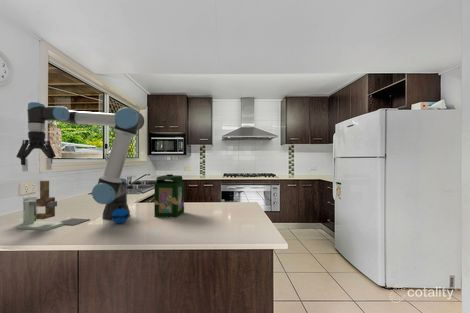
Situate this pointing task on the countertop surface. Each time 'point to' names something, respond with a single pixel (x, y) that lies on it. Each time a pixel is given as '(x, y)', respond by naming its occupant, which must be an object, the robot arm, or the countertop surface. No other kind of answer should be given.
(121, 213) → the ornament
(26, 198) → the syrup box
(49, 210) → the brown long angular piece
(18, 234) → the countertop surface
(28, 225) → the stand
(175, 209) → the container
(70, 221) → the mat
